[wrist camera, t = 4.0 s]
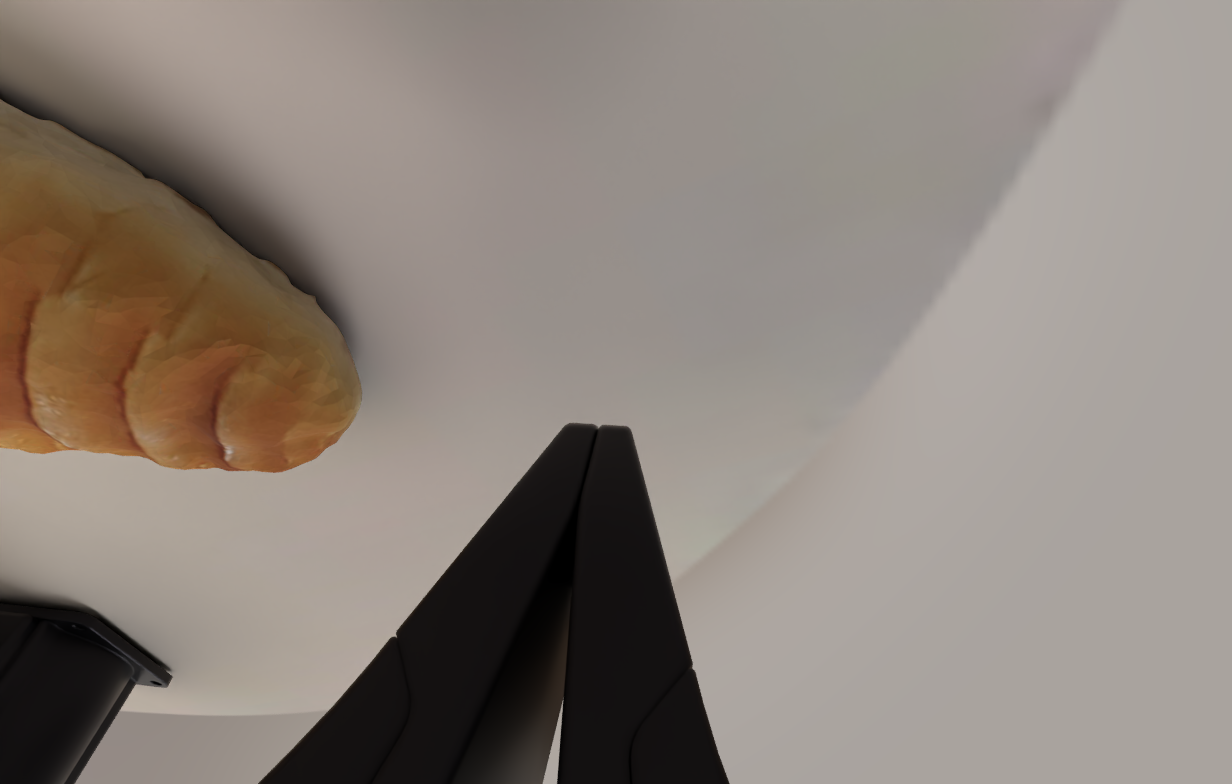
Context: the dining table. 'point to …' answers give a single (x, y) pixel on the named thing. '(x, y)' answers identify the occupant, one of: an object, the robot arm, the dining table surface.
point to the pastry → (150, 321)
